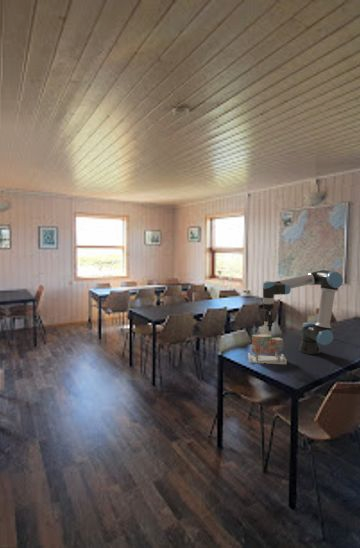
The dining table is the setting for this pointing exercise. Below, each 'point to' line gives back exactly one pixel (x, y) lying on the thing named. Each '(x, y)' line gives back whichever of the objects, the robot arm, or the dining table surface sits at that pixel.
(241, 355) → the dining table surface
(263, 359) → the rack with pegs
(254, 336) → the stack of blocks
